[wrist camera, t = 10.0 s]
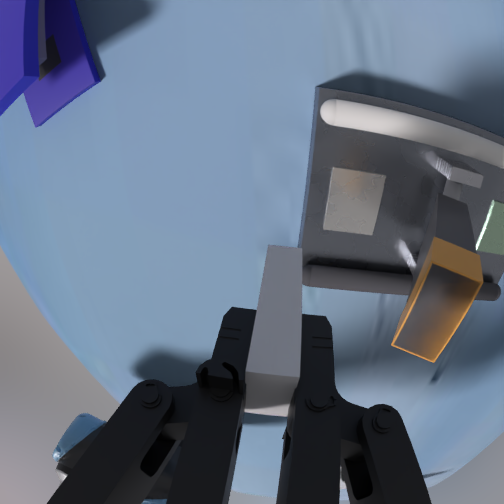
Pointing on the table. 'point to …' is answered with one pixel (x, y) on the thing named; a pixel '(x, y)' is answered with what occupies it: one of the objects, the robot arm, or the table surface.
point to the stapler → (43, 56)
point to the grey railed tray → (411, 130)
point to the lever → (441, 279)
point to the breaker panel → (391, 193)
